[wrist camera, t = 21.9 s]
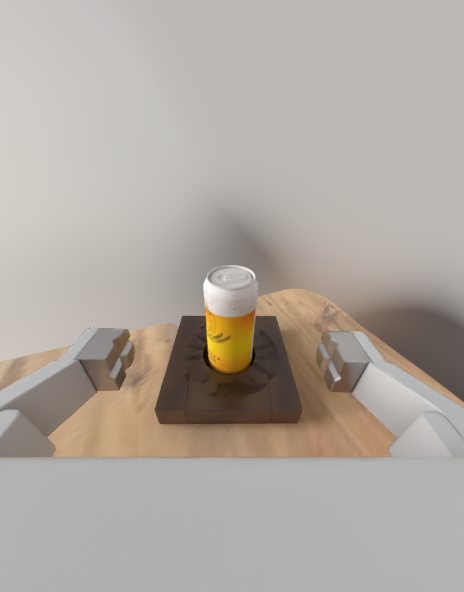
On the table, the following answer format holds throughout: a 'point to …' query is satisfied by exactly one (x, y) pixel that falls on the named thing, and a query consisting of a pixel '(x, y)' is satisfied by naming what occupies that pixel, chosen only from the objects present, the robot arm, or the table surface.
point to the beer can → (230, 318)
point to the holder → (228, 381)
